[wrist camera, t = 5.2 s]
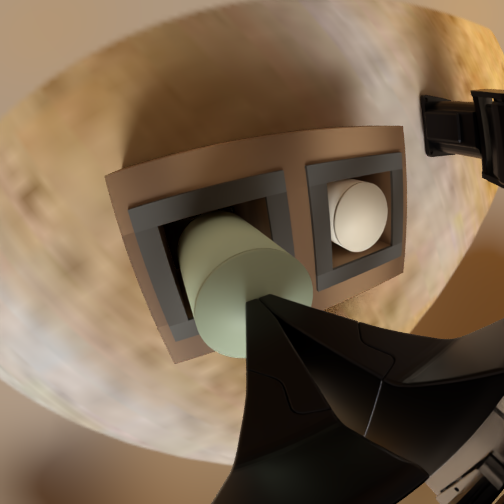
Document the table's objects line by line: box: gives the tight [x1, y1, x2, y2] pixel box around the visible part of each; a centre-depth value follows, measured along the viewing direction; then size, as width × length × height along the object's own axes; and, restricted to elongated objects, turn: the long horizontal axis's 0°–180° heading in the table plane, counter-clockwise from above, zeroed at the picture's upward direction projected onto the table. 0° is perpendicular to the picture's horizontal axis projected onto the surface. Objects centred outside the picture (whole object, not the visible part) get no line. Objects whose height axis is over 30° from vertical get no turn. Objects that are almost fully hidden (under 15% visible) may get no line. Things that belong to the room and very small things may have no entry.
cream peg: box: [327, 178, 388, 252], centre depth 17 cm, size 4×4×6 cm
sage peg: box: [177, 211, 313, 358], centre depth 11 cm, size 4×4×6 cm
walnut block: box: [105, 126, 407, 364], centre depth 16 cm, size 16×10×6 cm, turn 101°
